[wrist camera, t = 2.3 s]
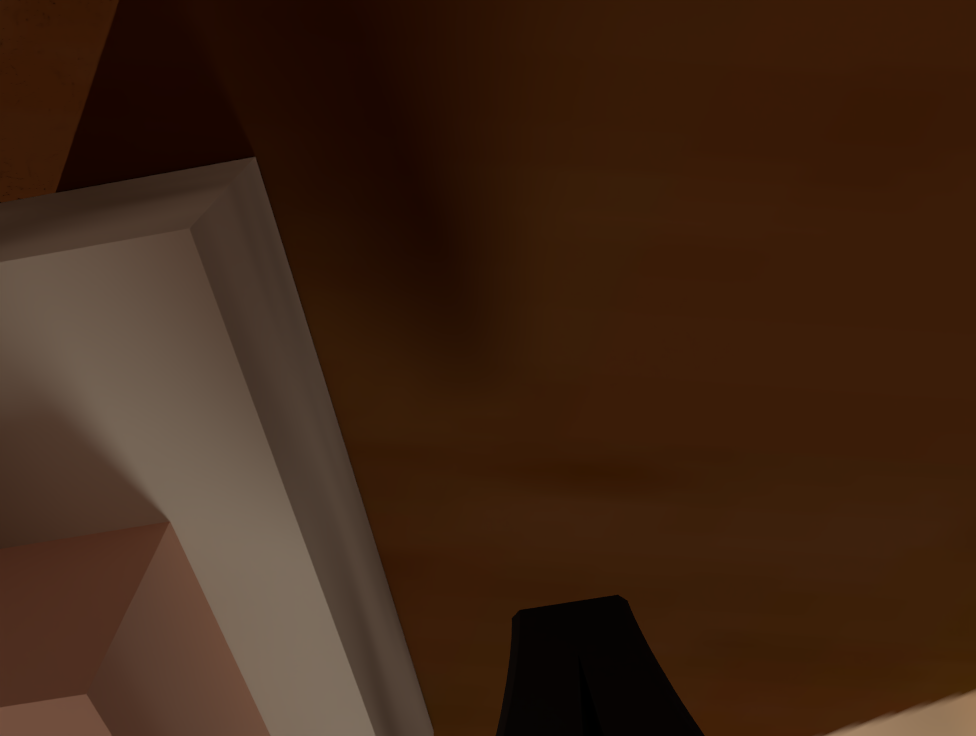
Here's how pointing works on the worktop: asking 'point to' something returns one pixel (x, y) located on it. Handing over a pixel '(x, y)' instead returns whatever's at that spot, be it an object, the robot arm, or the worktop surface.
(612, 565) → the worktop surface
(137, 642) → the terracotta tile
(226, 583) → the birch deck
